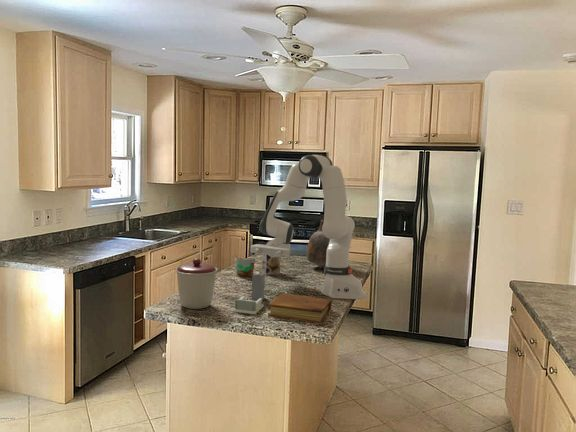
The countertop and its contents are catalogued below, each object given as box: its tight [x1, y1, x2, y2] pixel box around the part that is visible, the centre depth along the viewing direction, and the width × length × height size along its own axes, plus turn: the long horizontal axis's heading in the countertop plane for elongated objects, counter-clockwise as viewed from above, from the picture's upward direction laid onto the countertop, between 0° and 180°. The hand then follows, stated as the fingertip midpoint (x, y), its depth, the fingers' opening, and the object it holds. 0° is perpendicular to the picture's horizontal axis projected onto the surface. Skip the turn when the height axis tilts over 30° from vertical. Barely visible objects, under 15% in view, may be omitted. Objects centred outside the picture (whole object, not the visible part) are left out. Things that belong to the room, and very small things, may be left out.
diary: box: [267, 293, 332, 324], centre depth 202 cm, size 23×19×6 cm
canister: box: [175, 258, 219, 310], centre depth 205 cm, size 18×18×21 cm
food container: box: [234, 256, 256, 278], centre depth 264 cm, size 12×6×10 cm, turn 68°
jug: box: [306, 219, 330, 270], centre depth 290 cm, size 24×21×30 cm
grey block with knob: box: [251, 271, 266, 301], centre depth 220 cm, size 5×5×13 cm
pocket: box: [232, 295, 264, 315], centre depth 204 cm, size 10×11×5 cm
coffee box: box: [261, 254, 282, 276], centre depth 272 cm, size 9×6×16 cm
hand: (266, 253), depth 230 cm, fingers open, 8 cm apart
